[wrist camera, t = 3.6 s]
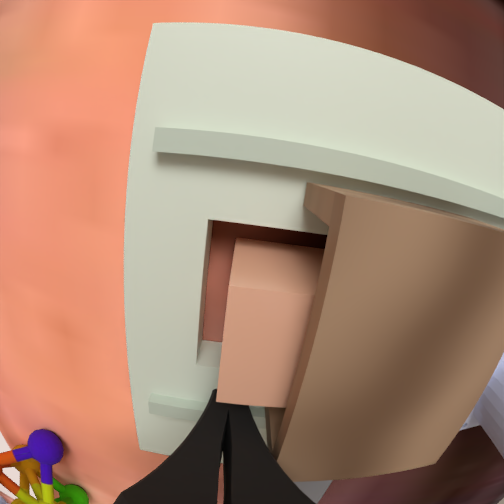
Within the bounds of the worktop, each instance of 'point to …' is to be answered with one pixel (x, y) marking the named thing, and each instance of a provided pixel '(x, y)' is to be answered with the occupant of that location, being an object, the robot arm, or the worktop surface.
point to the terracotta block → (266, 320)
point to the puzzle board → (270, 177)
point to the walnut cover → (390, 338)
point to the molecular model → (39, 471)
